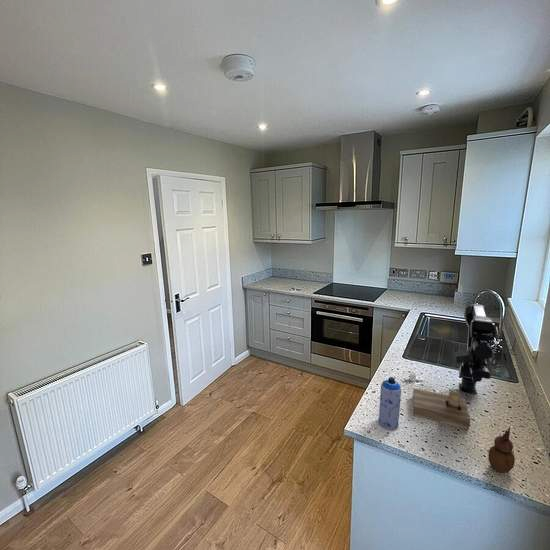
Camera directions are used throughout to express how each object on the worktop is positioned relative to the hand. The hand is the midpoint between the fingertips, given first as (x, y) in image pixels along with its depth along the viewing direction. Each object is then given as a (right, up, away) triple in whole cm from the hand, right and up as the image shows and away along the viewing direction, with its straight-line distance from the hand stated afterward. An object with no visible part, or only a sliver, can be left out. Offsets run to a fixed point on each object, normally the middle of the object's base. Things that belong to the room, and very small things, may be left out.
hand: (474, 382), depth 126 cm
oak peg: (-11, -12, -2) cm, 16 cm away
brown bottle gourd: (-11, -18, -28) cm, 35 cm away
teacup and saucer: (-14, -9, +21) cm, 27 cm away
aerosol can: (-39, -14, -7) cm, 42 cm away
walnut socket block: (-15, -13, 0) cm, 20 cm away
